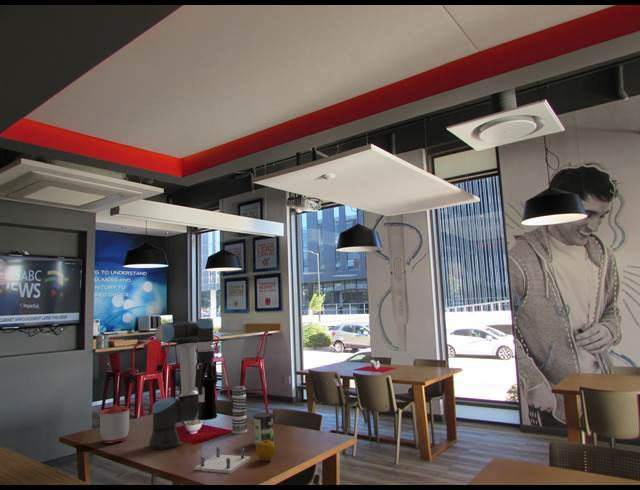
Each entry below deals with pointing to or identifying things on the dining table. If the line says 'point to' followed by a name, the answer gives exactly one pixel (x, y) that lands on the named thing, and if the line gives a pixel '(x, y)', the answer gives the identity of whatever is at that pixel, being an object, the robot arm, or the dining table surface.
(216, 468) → the locating plate
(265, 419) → the coffee can
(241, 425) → the decorative candle
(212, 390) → the container
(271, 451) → the apple
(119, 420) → the citrus juicer
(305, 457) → the dining table surface
